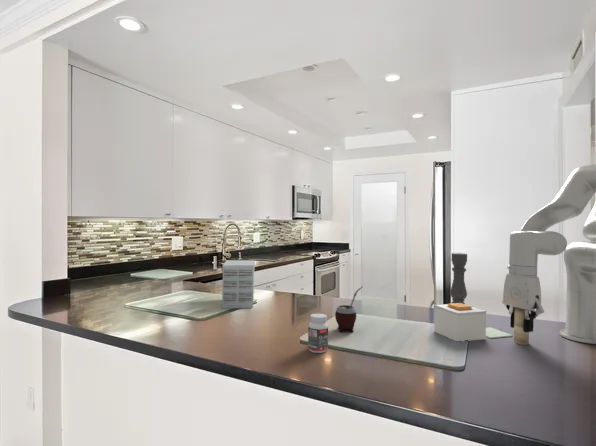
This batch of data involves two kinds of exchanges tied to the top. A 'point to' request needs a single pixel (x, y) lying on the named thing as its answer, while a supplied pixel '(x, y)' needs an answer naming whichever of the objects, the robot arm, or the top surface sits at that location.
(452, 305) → the button
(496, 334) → the pad
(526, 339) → the wooden cylinder
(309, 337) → the pill bottle
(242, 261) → the supplement box
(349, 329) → the mate gourd
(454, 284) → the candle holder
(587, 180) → the robot arm
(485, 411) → the top surface
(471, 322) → the box
